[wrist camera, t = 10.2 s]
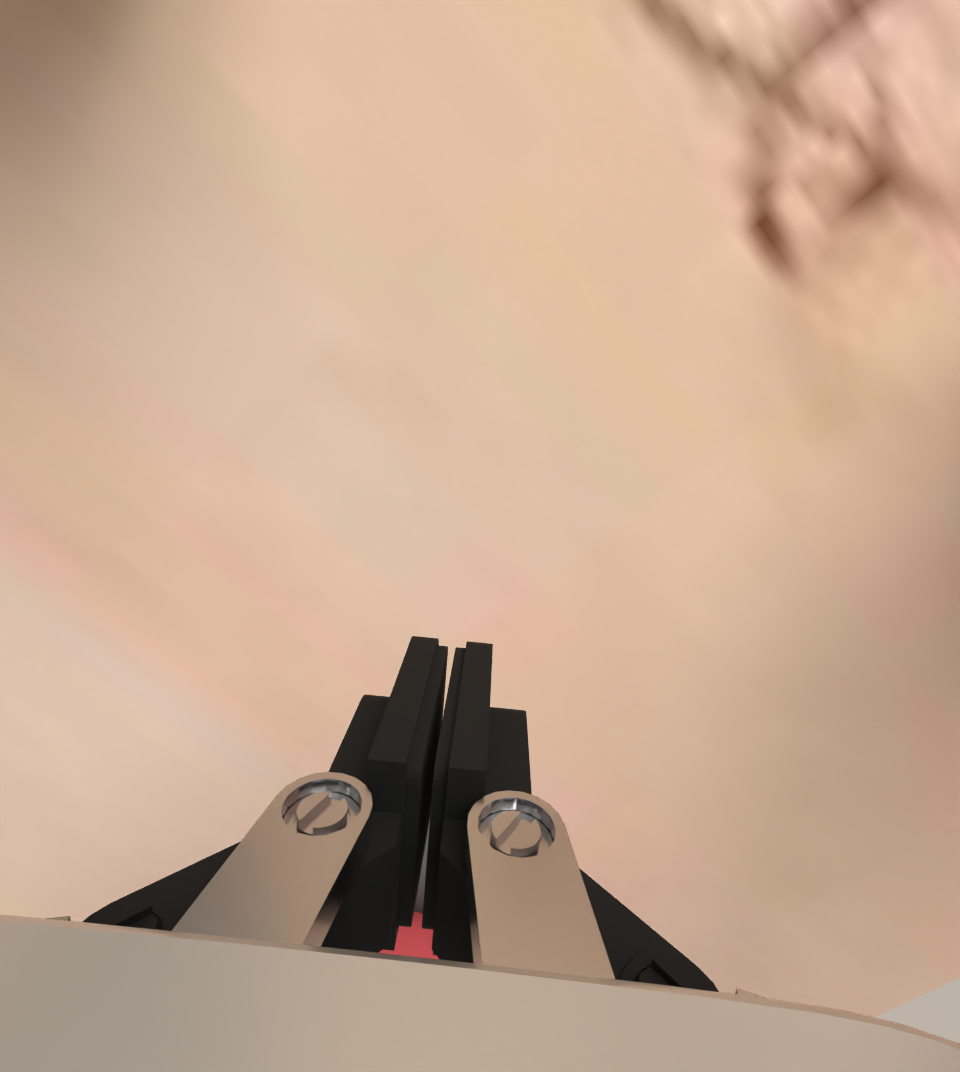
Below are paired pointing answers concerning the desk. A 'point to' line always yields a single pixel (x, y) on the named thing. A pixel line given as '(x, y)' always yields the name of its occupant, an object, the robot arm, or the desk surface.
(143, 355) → the desk surface
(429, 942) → the ball
